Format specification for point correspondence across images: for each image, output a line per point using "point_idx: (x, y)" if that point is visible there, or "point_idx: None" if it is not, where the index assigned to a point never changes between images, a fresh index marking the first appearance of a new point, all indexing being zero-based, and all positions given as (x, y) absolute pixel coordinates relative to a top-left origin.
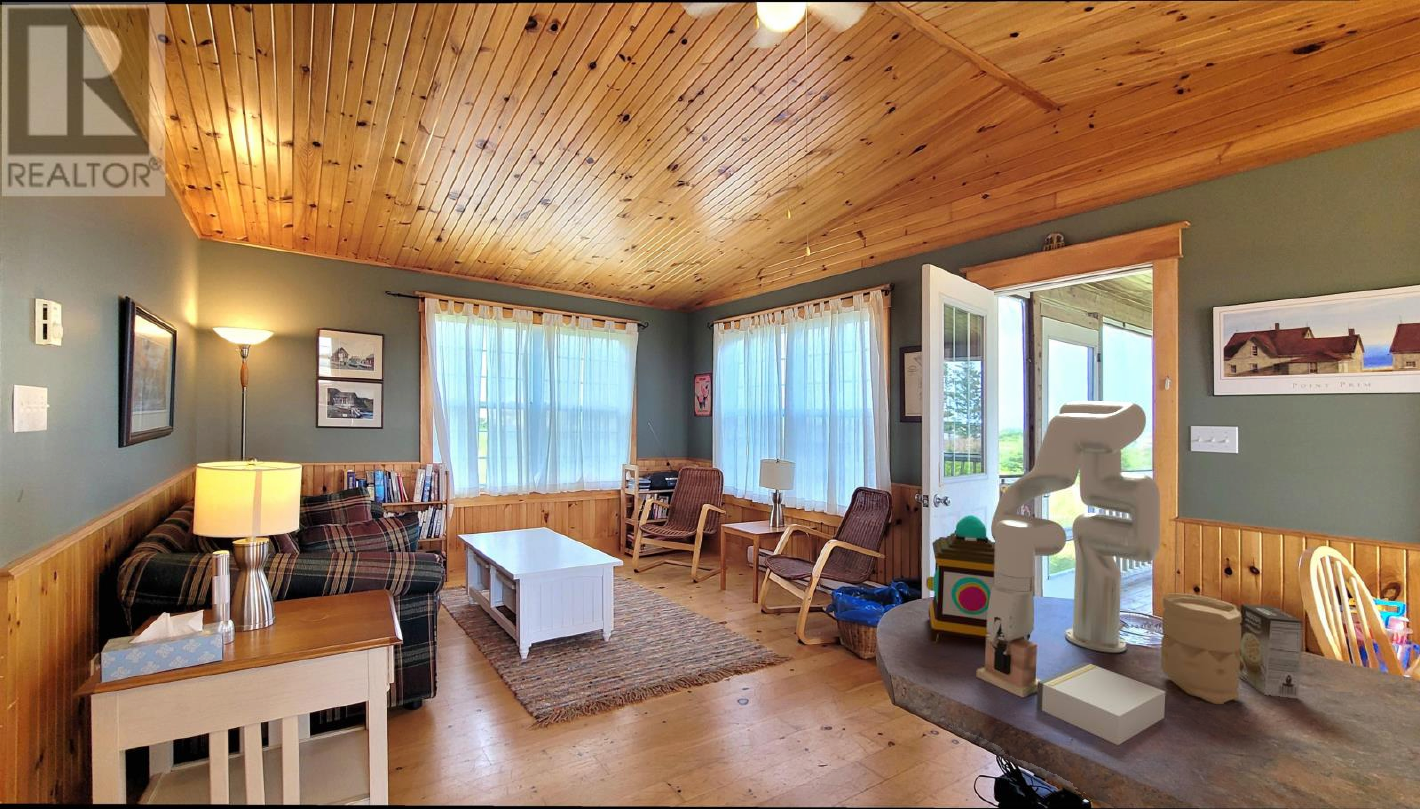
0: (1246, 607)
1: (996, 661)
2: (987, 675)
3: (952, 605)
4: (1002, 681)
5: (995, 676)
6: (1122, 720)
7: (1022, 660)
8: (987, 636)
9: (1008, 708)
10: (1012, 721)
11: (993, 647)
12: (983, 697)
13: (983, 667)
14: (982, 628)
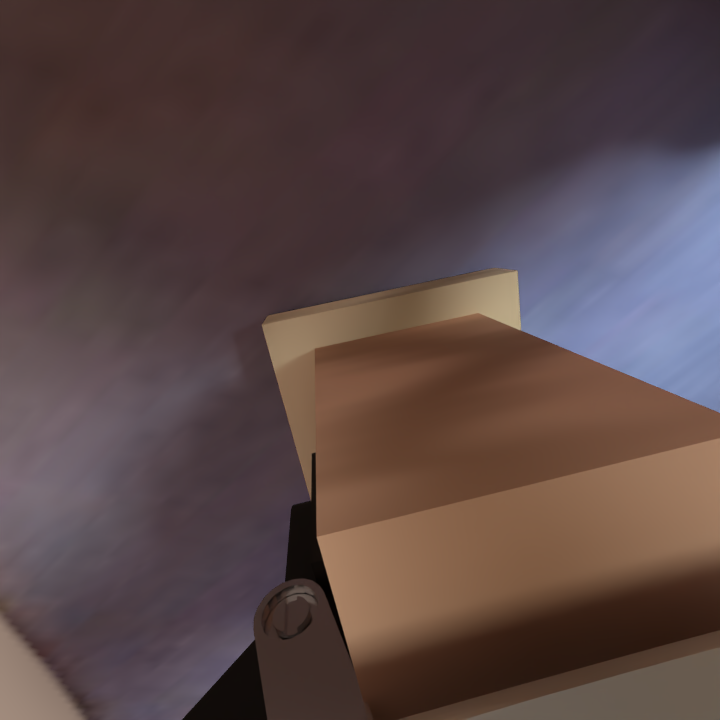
0: None
1: (292, 532)
2: (283, 400)
3: None
4: (309, 488)
5: (313, 436)
6: None
7: None
8: (320, 545)
9: (181, 612)
10: (114, 688)
11: (201, 700)
12: (126, 515)
13: (339, 311)
14: None
